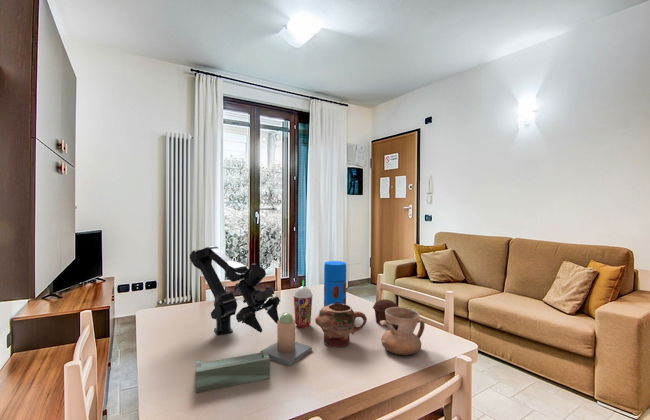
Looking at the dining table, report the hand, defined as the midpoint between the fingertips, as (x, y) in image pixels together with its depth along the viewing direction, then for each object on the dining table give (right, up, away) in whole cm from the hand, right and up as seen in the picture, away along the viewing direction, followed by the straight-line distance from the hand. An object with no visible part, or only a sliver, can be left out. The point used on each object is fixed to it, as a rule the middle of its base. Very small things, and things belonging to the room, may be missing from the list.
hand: (270, 327), depth 117 cm
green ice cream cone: (+6, -6, -4) cm, 10 cm away
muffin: (+48, -8, +26) cm, 55 cm away
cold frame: (-9, -8, -18) cm, 21 cm away
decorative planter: (+26, -8, +5) cm, 28 cm away
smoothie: (+11, -7, +22) cm, 25 cm away
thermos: (+25, -7, +37) cm, 45 cm away
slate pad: (+6, -8, -4) cm, 11 cm away
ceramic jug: (+49, -8, 0) cm, 50 cm away
